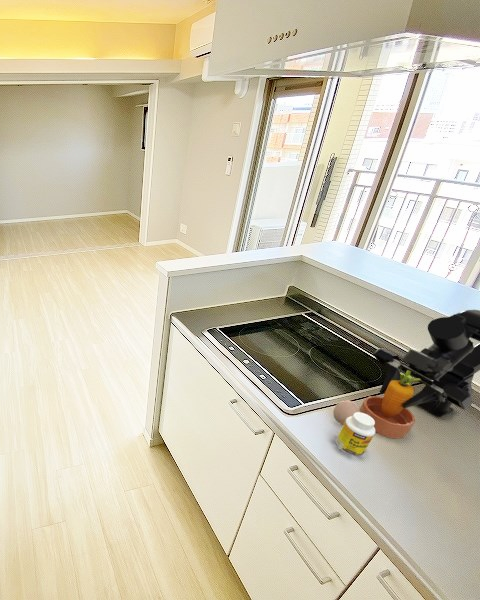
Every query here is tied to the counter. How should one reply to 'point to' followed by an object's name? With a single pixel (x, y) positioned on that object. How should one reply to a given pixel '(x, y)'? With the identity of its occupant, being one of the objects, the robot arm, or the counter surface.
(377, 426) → the bowl
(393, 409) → the carrot
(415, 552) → the counter surface
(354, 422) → the supplement bottle
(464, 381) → the robot arm
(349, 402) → the egg
